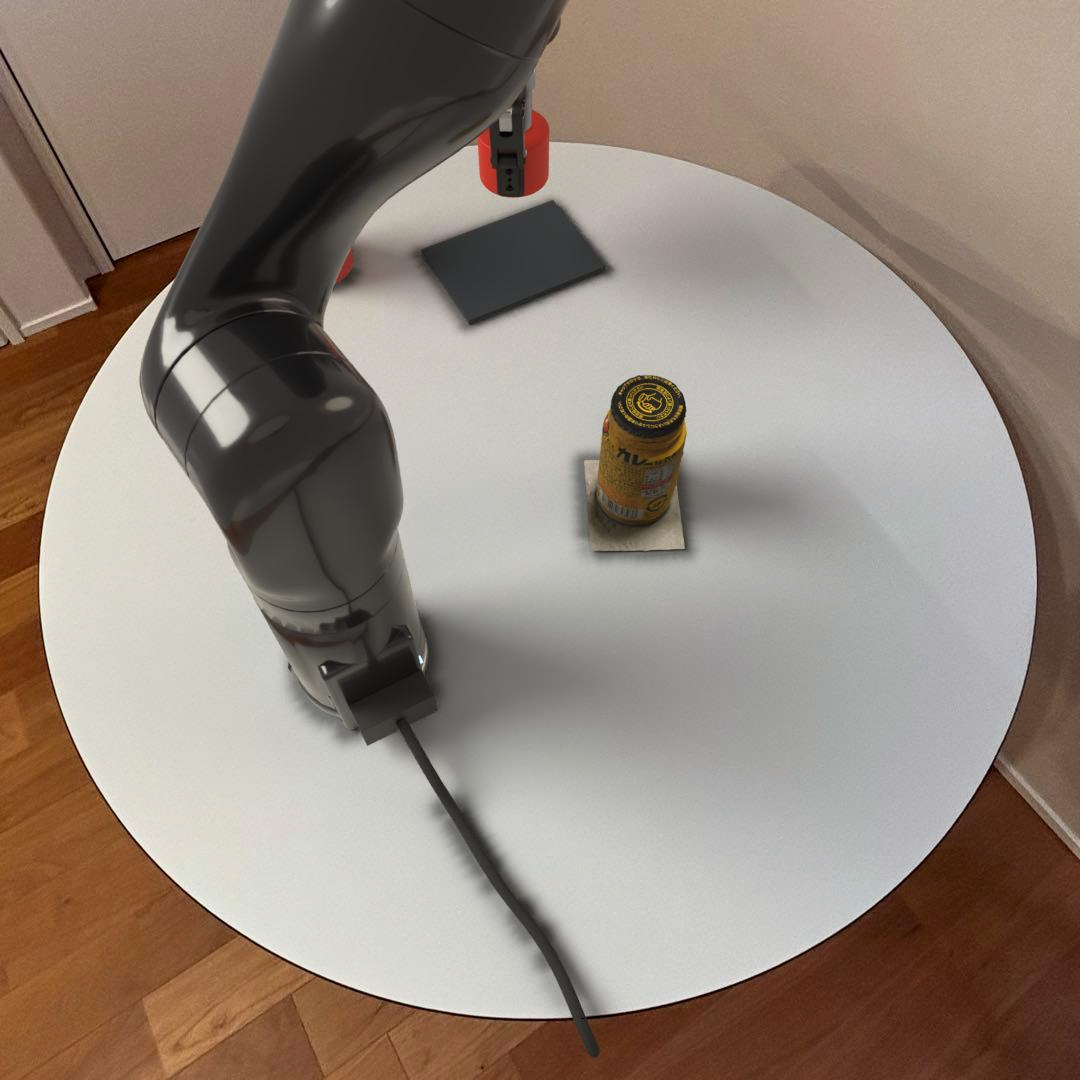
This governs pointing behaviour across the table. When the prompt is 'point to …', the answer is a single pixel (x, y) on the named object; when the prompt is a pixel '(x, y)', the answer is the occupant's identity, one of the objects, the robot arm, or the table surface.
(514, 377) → the table surface
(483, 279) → the dark rectangular pad
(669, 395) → the condiment
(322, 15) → the robot arm
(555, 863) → the table surface
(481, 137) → the red cylinder
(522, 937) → the table surface
